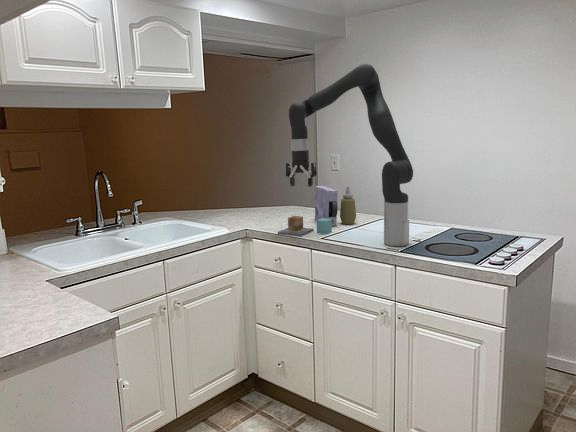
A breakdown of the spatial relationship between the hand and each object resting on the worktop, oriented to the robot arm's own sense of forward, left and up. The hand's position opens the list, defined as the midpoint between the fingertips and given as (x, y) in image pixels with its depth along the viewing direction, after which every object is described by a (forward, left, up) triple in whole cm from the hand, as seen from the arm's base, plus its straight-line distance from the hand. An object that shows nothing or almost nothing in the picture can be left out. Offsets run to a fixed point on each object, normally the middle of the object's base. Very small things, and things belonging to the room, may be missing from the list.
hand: (301, 186), depth 207 cm
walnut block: (+3, 0, -20) cm, 20 cm away
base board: (+3, 0, -21) cm, 22 cm away
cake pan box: (-1, -23, -22) cm, 31 cm away
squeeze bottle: (-11, -27, -22) cm, 36 cm away
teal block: (-9, -5, -21) cm, 24 cm away
